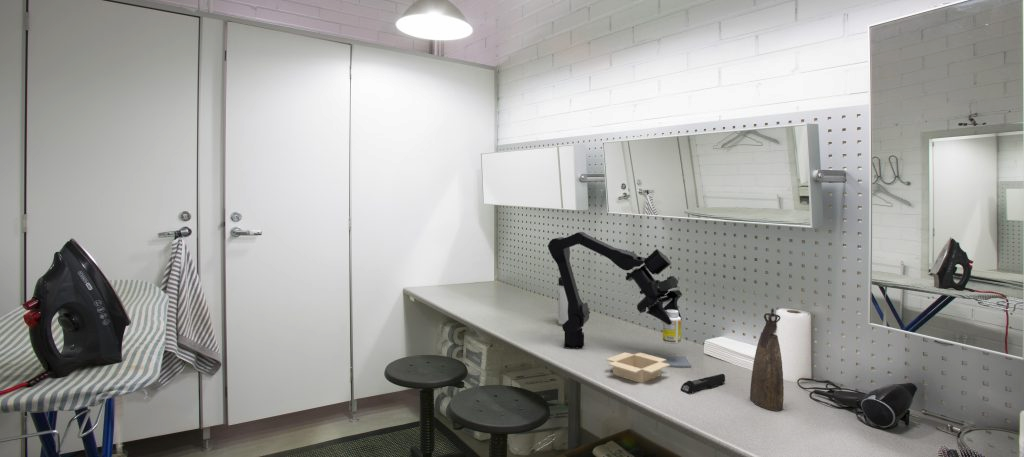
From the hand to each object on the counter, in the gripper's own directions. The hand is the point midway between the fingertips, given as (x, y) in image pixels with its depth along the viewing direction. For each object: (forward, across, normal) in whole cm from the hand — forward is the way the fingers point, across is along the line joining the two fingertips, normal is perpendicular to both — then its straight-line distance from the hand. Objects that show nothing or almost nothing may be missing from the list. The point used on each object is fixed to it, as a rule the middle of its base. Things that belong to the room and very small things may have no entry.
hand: (675, 322), depth 168 cm
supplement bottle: (+4, 0, +6) cm, 7 cm away
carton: (+8, -17, +11) cm, 22 cm away
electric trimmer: (+21, -12, -2) cm, 25 cm away
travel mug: (-30, +11, +50) cm, 60 cm away
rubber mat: (+9, 0, +10) cm, 13 cm away
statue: (+33, -11, -14) cm, 38 cm away
